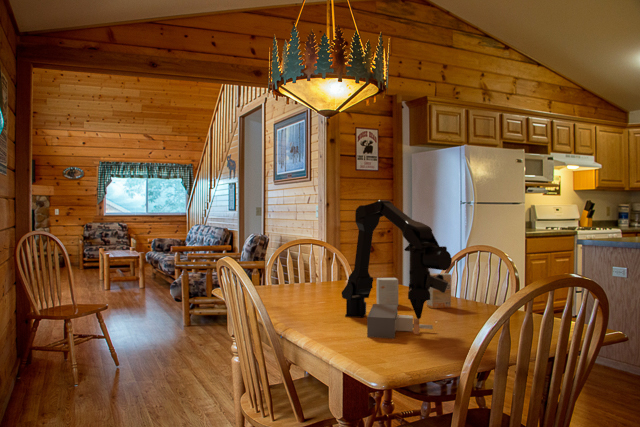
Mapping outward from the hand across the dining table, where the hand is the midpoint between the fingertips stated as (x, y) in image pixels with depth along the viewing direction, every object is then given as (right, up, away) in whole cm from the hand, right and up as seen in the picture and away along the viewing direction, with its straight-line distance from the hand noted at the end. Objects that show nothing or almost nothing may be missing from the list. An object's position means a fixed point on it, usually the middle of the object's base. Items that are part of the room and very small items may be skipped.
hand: (418, 318), depth 145 cm
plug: (-1, -5, +4) cm, 6 cm away
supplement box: (+17, -5, +42) cm, 45 cm away
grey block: (-10, -5, +6) cm, 13 cm away
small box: (-3, -5, +46) cm, 46 cm away
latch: (-2, -2, -5) cm, 6 cm away
